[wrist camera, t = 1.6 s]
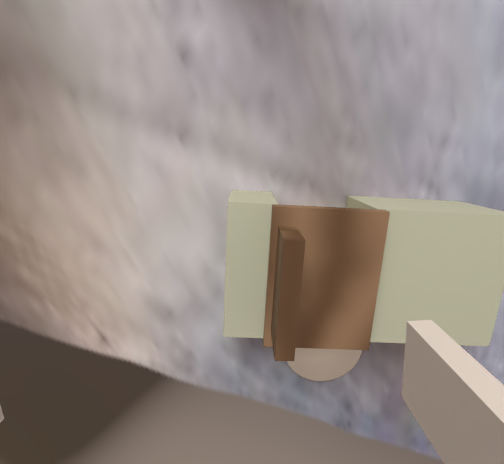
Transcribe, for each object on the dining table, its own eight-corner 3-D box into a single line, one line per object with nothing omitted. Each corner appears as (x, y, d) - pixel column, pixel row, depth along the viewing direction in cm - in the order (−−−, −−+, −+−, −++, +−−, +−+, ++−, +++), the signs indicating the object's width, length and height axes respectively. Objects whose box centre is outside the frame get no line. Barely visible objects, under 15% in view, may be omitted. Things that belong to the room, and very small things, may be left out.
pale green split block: (227, 297, 37) (223, 336, 29) (231, 189, 34) (227, 201, 26) (438, 305, 38) (489, 346, 30) (460, 201, 35) (522, 215, 27)
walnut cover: (262, 340, 29) (266, 378, 24) (272, 204, 26) (278, 216, 21) (364, 343, 29) (388, 382, 24) (384, 209, 26) (416, 223, 21)
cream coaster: (279, 373, 39) (280, 379, 38) (285, 303, 37) (286, 308, 36) (354, 375, 40) (357, 382, 38) (364, 306, 37) (368, 311, 36)
